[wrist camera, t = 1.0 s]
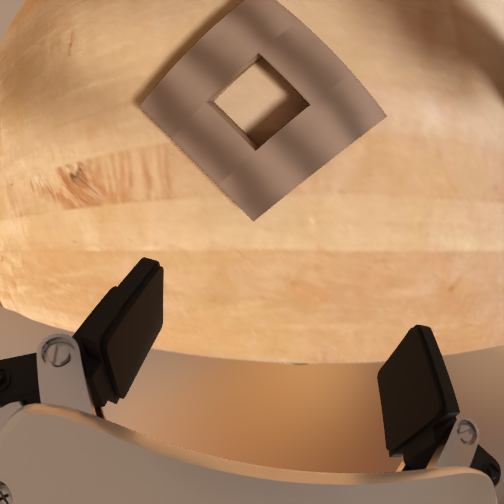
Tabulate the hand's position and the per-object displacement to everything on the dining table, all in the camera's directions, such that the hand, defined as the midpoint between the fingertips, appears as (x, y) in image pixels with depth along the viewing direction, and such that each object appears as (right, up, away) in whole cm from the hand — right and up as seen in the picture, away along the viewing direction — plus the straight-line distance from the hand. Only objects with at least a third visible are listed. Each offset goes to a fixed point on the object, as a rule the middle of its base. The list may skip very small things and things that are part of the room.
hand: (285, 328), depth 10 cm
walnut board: (0, +20, +20) cm, 28 cm away
